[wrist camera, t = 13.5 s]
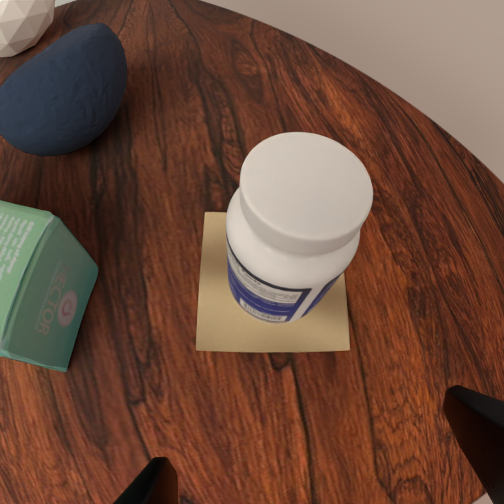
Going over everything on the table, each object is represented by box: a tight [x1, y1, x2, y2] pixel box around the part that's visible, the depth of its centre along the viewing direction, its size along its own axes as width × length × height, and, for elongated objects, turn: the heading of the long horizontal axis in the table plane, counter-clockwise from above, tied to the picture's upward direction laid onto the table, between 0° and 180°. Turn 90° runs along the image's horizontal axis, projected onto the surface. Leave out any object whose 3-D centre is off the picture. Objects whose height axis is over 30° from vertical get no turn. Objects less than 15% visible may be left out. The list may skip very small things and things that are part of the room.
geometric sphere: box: [0, 0, 55, 57], centre depth 27 cm, size 14×15×15 cm
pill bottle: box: [226, 132, 373, 324], centre depth 15 cm, size 6×6×10 cm
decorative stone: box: [0, 23, 127, 156], centre depth 20 cm, size 12×12×10 cm
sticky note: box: [196, 212, 350, 352], centre depth 20 cm, size 9×9×1 cm
